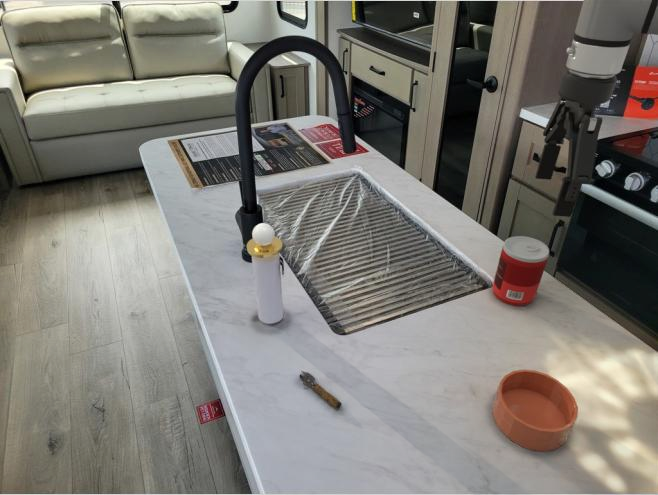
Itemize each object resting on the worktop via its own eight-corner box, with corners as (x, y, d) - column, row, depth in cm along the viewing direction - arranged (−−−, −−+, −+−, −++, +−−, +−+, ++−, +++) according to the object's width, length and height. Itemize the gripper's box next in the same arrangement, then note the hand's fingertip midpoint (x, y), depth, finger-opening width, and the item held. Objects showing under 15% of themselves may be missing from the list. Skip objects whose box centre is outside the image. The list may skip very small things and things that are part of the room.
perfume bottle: (261, 333, 83) (251, 238, 72) (250, 313, 87) (239, 220, 76) (292, 322, 85) (286, 229, 74) (280, 303, 89) (273, 212, 78)
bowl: (557, 392, 73) (565, 373, 70) (577, 455, 64) (588, 435, 62) (487, 386, 74) (493, 366, 71) (499, 446, 65) (506, 426, 63)
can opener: (342, 406, 71) (342, 401, 70) (330, 415, 69) (330, 410, 69) (305, 370, 76) (305, 365, 76) (293, 377, 75) (293, 372, 74)
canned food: (543, 300, 90) (559, 253, 84) (509, 311, 88) (523, 263, 82) (516, 277, 96) (529, 232, 90) (483, 286, 94) (494, 240, 87)
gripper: (546, 51, 82) (517, 164, 95) (589, 95, 62) (545, 231, 74) (591, 53, 82) (556, 166, 94) (650, 99, 61) (596, 235, 73)
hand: (551, 195), depth 84 cm, fingers open, 13 cm apart
